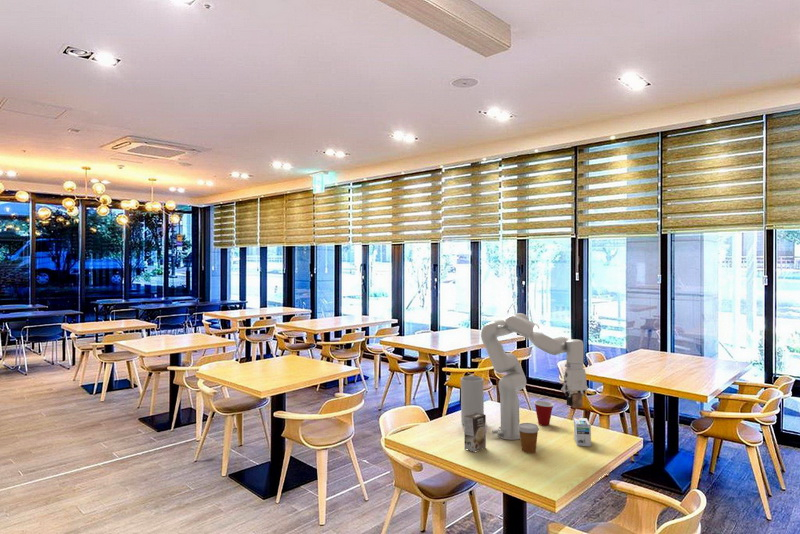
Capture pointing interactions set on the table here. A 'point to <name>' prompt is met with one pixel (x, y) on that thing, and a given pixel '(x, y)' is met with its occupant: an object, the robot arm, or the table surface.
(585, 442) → the light bulb box
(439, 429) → the table surface
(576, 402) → the walnut block
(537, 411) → the plastic cup
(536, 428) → the disposable coffee cup
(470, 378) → the cylinder vase
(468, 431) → the coffee box
